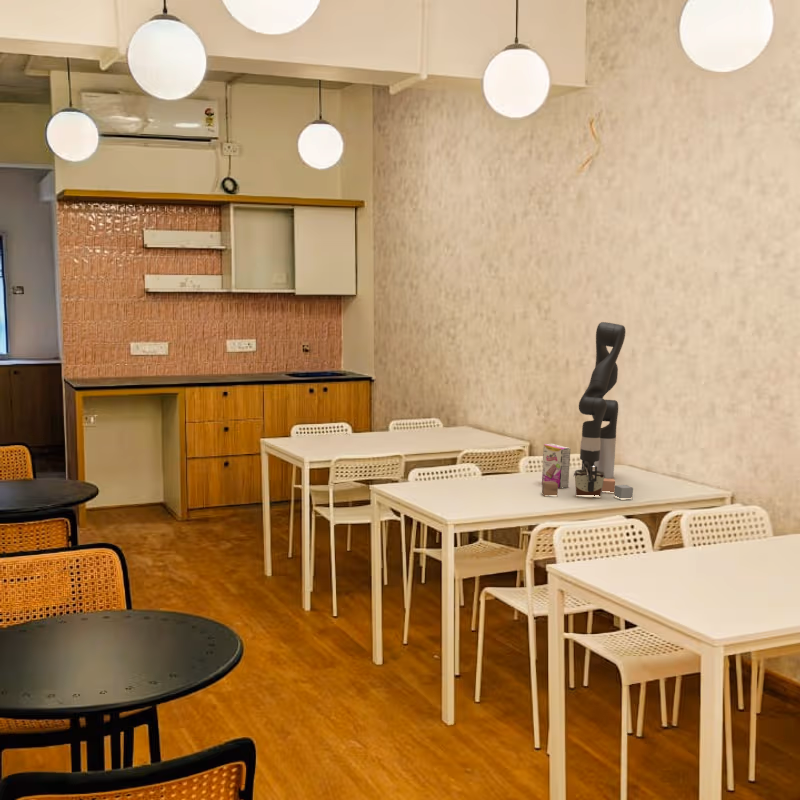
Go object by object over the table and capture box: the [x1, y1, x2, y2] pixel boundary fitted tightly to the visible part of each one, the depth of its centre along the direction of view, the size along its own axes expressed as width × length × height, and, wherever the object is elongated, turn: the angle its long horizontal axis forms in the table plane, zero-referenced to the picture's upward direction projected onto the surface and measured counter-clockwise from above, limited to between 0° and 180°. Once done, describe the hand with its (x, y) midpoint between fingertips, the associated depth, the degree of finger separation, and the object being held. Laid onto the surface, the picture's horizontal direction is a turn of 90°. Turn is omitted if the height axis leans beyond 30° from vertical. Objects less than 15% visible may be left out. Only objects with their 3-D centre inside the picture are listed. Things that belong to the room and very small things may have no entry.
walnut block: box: [541, 481, 559, 496], centre depth 392 cm, size 5×5×5 cm
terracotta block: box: [602, 478, 616, 492], centre depth 401 cm, size 5×5×5 cm
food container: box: [572, 468, 605, 497], centre depth 392 cm, size 12×6×10 cm, turn 84°
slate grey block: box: [613, 484, 634, 498], centre depth 389 cm, size 5×5×5 cm
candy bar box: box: [541, 443, 571, 489], centre depth 409 cm, size 11×5×16 cm, turn 34°
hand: (587, 489), depth 393 cm, fingers open, 8 cm apart
